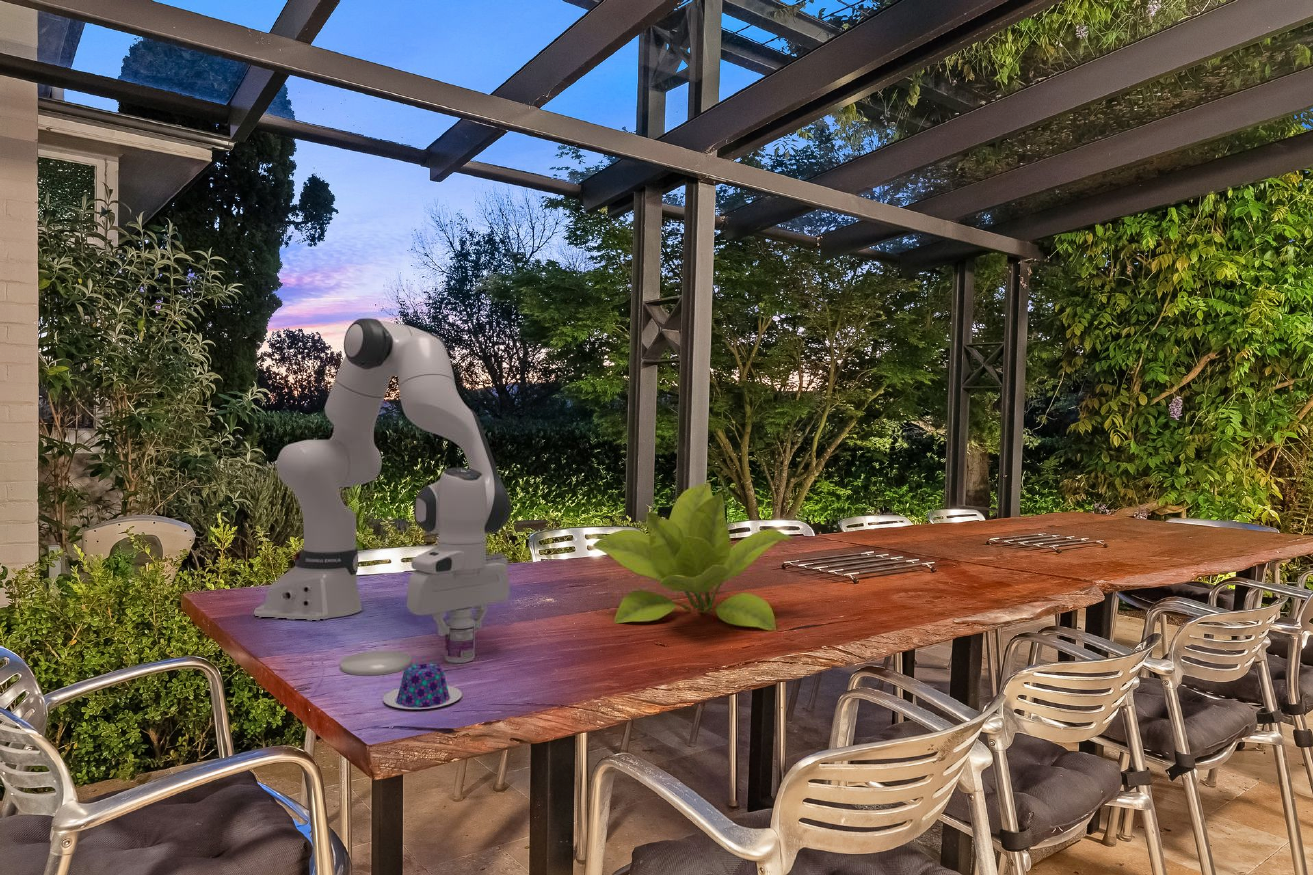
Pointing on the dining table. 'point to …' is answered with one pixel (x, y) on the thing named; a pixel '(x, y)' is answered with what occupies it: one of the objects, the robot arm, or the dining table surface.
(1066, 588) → the dining table surface
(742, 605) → the artificial plant
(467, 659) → the pill bottle
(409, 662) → the coaster
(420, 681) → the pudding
